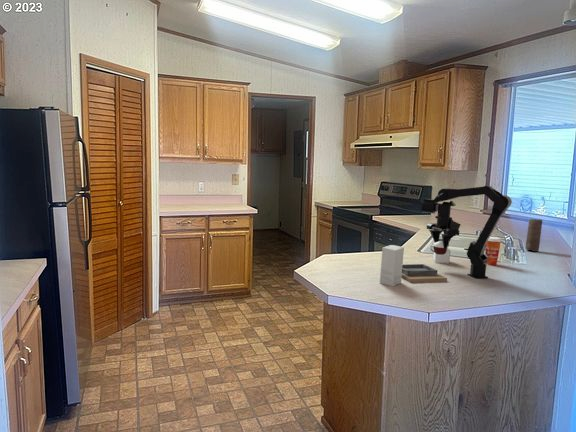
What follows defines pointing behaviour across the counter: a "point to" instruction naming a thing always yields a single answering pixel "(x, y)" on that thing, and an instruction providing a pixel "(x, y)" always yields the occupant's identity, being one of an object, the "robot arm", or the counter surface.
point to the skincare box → (391, 265)
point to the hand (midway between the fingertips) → (440, 246)
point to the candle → (533, 234)
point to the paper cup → (492, 250)
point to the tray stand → (421, 273)
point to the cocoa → (439, 248)
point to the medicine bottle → (442, 256)
